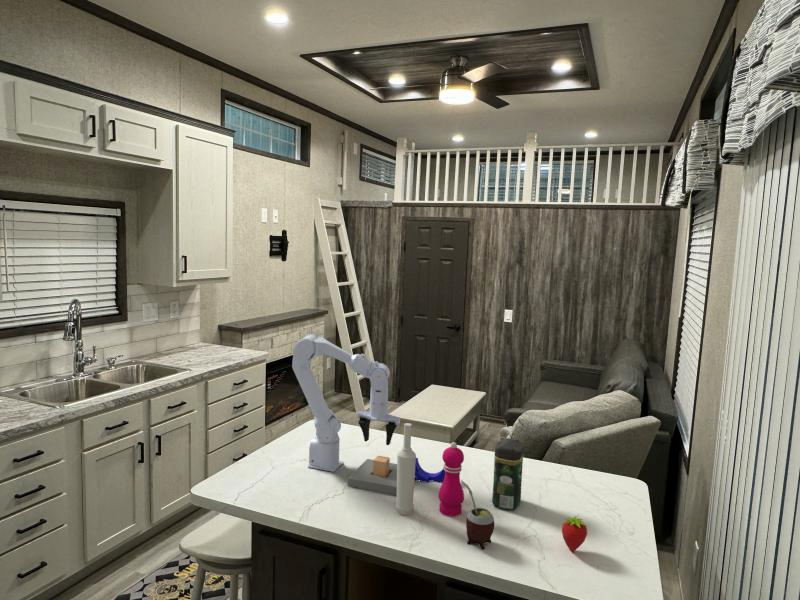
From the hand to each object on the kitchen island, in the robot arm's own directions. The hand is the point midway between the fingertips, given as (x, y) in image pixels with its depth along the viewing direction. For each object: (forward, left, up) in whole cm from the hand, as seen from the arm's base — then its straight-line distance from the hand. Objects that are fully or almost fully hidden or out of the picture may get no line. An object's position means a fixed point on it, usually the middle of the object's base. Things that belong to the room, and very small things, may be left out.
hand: (377, 442), depth 177 cm
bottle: (+17, -22, -10) cm, 30 cm away
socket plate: (+4, -6, -9) cm, 12 cm away
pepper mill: (+29, -17, -10) cm, 35 cm away
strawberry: (+62, -25, -10) cm, 68 cm away
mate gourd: (+39, -30, -10) cm, 50 cm away
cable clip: (+18, 0, -10) cm, 21 cm away
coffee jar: (+43, -6, -10) cm, 45 cm away
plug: (+4, -7, -9) cm, 12 cm away
